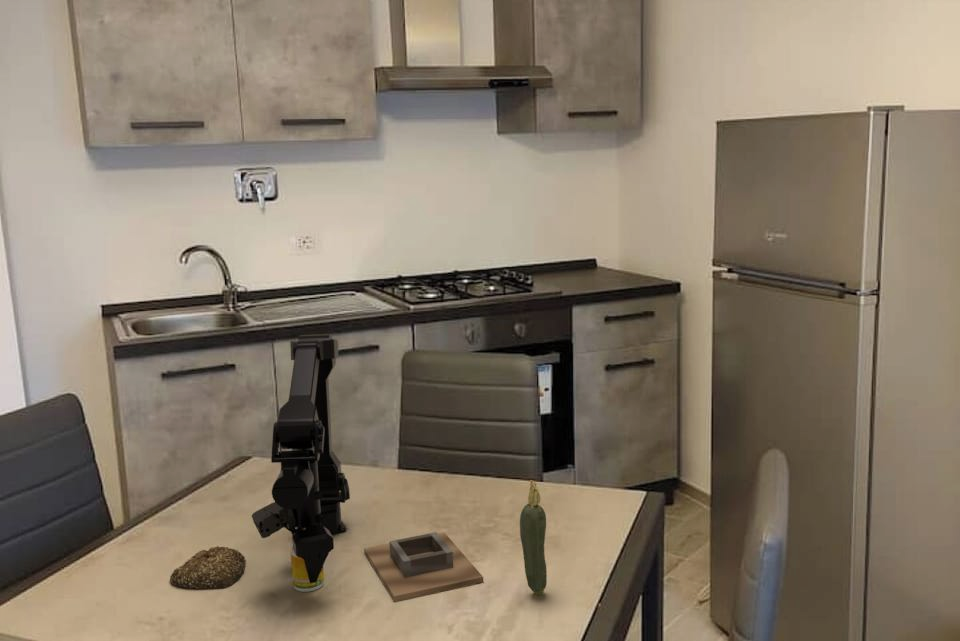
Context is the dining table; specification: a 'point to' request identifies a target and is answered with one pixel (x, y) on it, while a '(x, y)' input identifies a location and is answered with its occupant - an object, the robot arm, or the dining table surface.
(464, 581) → the can holder
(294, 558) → the supplement bottle
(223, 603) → the dining table surface
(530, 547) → the vegetable
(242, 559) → the bread roll
